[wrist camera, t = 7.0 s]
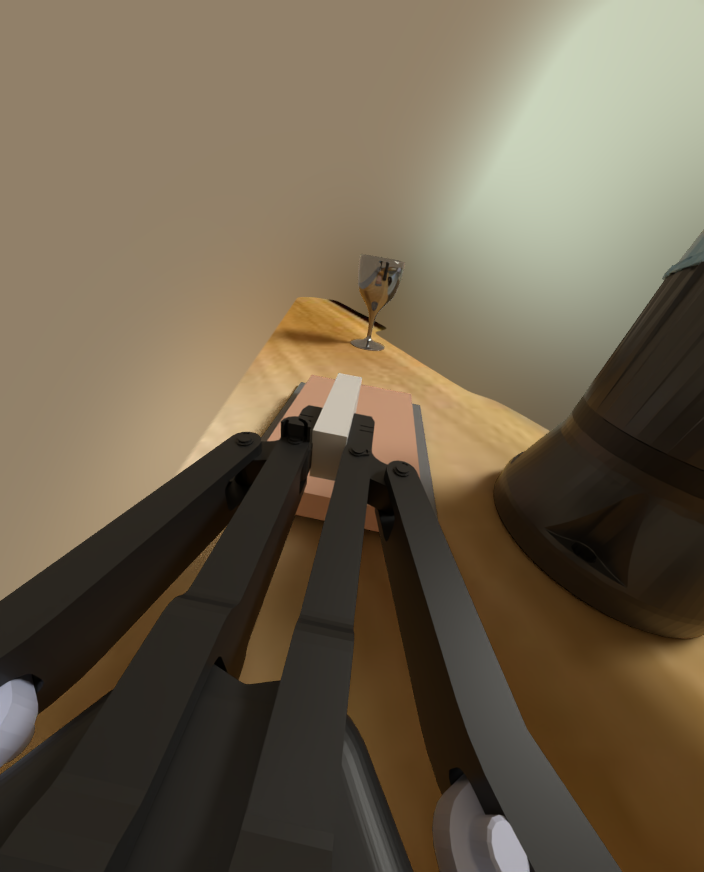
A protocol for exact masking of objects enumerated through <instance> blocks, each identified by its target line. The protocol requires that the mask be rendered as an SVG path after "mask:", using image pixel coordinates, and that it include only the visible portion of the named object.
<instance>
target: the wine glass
mask: <svg viewBox="0 0 704 872" xmlns="http://www.w3.org/2000/svg"><path fill="white" fill-rule="evenodd" d="M404 266H405V262H402V261H398V260H393V259H387V258H382V257H376V256H370V255H363V254H361V255H360V260H359V270H358V285H359V291H360V294H361V296H362V298H363V300H364V302H365V304H366V305H367V308H368V311H369V327H368V334H367V337H366V338H365V339H353V340H351V341H350V343H351V344H352V345H354V346H355V347H358V348H361V349H365V350H372V351H379V350H383V349H384V345H383V344H381V343H379V342H376V341H373V340H372V339H371V333H372V328H373V324H374V321H375V318H376V316H377V314H378V312H379V311H380V310H381V309H382V308H383V307H384V306H385V305H386V304H387V303H388V302H389V301H391V299H392V298H393V297H394V296H395V294H396V292H397V289H398V287H399V284H400V282H401V278H402V275H403V271H404Z"/></svg>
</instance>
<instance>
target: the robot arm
mask: <svg viewBox="0 0 704 872" xmlns="http://www.w3.org/2000/svg"><path fill="white" fill-rule="evenodd" d="M663 280H664V282H663V283H662V285H661V286H660V287H659V289H658V290H657V292H656V293H655V294H654V296H653V297H652V299H651V300H650V302H649V303H648V304H647V306H646V307H645V309H644V310H643V311H642V313H641V314H640V316H639V317H638V319H637V320H636V322H635V323H634V324H633V326H632V327H631V329H630V330H629V331H628V333H627V334H626V336H625V337H624V338H623V340H622V341H621V343H620V344H619V345H618V347H617V348H616V350H615V351H614V353H613V354H612V355H611V357H610V358H609V360H608V361H607V363H606V364H605V365H604V367H603V368H602V370H601V371H600V373H599V374H598V375H597V377H596V378H595V380H594V381H593V382H592V384H591V385H590V387H589V388H588V389H587V391H586V392H585V394H584V396H583V397H582V398H581V400H580V401H579V402H578V404H577V405H576V406H575V408H574V410H573V411H572V412H571V413H570V415H569V416H568V417H567V418H566V419H565V420H564V421H563V422H562V423H561V424H559V425H558V426H557V427H555V428H554V429H553V430H551V431H550V432H549V433H547V434H546V435H545V436H543V437H542V438H541V439H540V440H538V441H537V442H536V443H535V444H533V445H532V446H531V447H530V448H528V449H527V450H526V451H524V452H522V453H520V454H518V455H517V456H515V457H514V458H512V459H511V460H510V461H509V463H508V464H507V465H506V467H505V468H504V470H503V471H502V473H501V474H500V476H499V478H498V479H497V481H496V483H495V486H494V500H495V504H496V508H497V510H498V513H499V515H500V517H501V519H502V521H503V523H504V525H505V526H506V528H507V530H508V531H509V532H510V534H511V535H512V537H513V538H514V539H515V541H516V542H517V543H518V544H519V546H520V547H521V548H522V549H523V550H524V551H525V553H526V554H527V555H528V556H529V557H530V558H531V559H532V560H533V561H534V562H535V563H536V564H537V565H538V566H539V567H540V568H541V569H542V570H544V571H545V572H546V573H547V574H548V575H549V576H550V577H552V578H553V579H554V580H555V581H557V582H558V583H559V584H560V585H562V586H563V587H564V588H566V589H567V590H568V591H570V592H571V593H572V594H574V595H575V596H577V597H578V598H580V599H581V600H583V601H584V602H586V603H587V604H589V605H591V606H592V607H594V608H596V609H597V610H599V611H601V612H603V613H605V614H606V615H608V616H610V617H612V618H614V619H616V620H618V621H620V622H623V623H625V624H627V625H630V626H632V627H635V628H637V629H640V630H643V631H646V632H649V633H652V634H656V635H660V636H665V637H671V638H695V637H699V636H702V635H704V230H703V231H702V232H701V234H700V235H699V236H698V238H697V239H696V240H695V241H694V243H693V244H692V246H691V247H690V248H689V249H688V250H687V252H686V253H685V254H684V256H683V257H682V258H681V259H680V261H679V262H678V263H677V264H676V265H674V266H672V267H671V268H670V269H669V270H668V271H667V272H666V273H665V275H664V276H663ZM361 381H362V377H357V376H351V375H346V374H341V373H338V376H337V378H336V380H335V382H334V384H333V387H332V389H331V391H330V393H329V396H328V398H327V400H326V402H325V404H324V407H323V408H322V407H316V406H311V405H308V406H307V407H305V408H303V409H302V411H301V413H300V415H299V416H291V417H287V418H284V419H283V420H282V421H281V437H280V439H279V440H276V441H261V437H260V436H259V435H258V434H256V433H252V432H241V433H237V434H235V435H233V436H231V437H230V438H229V439H227V440H226V441H224V442H223V443H222V444H220V445H219V446H217V447H216V448H215V449H213V450H212V451H210V452H209V453H208V454H206V455H205V456H203V457H202V458H201V459H199V460H198V461H196V462H195V463H194V464H192V465H191V466H189V467H188V468H186V469H185V470H184V471H182V472H181V473H179V474H178V475H177V476H175V477H174V478H172V479H171V480H170V481H168V482H167V483H165V484H164V485H163V486H161V487H160V488H158V489H157V490H156V491H154V492H153V493H152V494H150V495H149V496H147V497H146V498H145V499H143V500H142V501H140V502H139V503H137V504H136V505H134V506H133V507H132V508H130V509H129V510H127V511H126V512H125V513H123V514H122V515H120V516H119V517H118V518H116V519H115V520H113V521H112V522H111V523H109V524H108V525H106V526H105V527H104V528H102V529H101V530H100V531H98V532H97V533H95V534H94V535H92V536H91V537H90V538H88V539H87V540H85V541H84V542H82V543H81V544H80V545H78V546H77V547H75V548H74V549H73V550H71V551H70V552H69V553H67V554H66V555H65V556H63V557H62V558H60V559H59V560H58V561H56V562H54V563H53V564H52V565H50V566H49V567H47V568H46V569H45V570H43V571H42V572H40V573H39V574H38V575H36V576H35V577H33V578H32V579H31V580H29V581H28V582H26V583H25V584H23V585H22V586H21V587H19V588H18V589H16V590H15V591H14V592H12V593H11V594H10V595H8V596H7V597H5V598H4V599H3V600H1V601H0V767H1V766H2V765H3V764H5V763H7V762H10V761H12V760H13V759H14V758H16V757H17V756H18V755H19V754H21V753H22V752H23V750H24V749H25V748H26V747H27V746H28V744H29V743H30V741H31V739H32V737H33V735H34V732H35V725H34V724H35V721H36V717H37V715H38V714H39V713H40V712H42V711H43V710H44V709H46V708H47V707H48V706H49V705H51V704H52V703H53V702H55V701H56V700H57V699H58V698H59V697H60V696H62V695H63V694H64V693H65V692H66V691H67V690H68V689H69V688H71V687H72V686H73V685H74V684H75V683H76V682H77V681H79V680H80V679H81V678H82V677H83V676H84V675H85V674H86V673H87V672H88V671H89V670H90V669H91V668H92V667H93V666H94V665H95V664H96V663H97V662H98V661H99V660H100V659H101V658H102V657H103V656H104V655H105V654H106V653H107V652H108V651H109V650H110V649H111V648H112V647H113V646H114V644H115V643H116V642H117V641H118V640H119V639H120V638H121V637H122V636H123V635H124V634H125V633H126V632H127V631H128V630H129V629H130V628H131V626H132V625H133V624H134V623H135V622H136V621H137V620H138V619H139V618H140V617H141V616H142V615H143V614H144V613H145V612H146V611H147V610H148V608H149V607H150V606H151V605H152V604H153V603H154V602H155V601H156V600H157V599H158V598H159V597H160V596H161V595H162V594H163V593H164V592H165V590H166V589H167V588H168V587H169V586H170V585H171V584H172V583H173V582H174V581H175V580H176V579H177V578H178V577H179V576H180V575H181V574H182V572H183V571H184V570H185V569H186V568H187V567H188V566H189V565H190V564H191V563H192V562H193V561H194V560H195V559H196V558H197V557H198V556H199V554H200V553H201V552H202V551H203V550H204V549H205V548H206V547H207V546H208V545H209V544H210V543H211V542H212V541H213V540H214V539H215V538H216V536H217V535H218V534H219V533H220V532H221V531H222V530H223V529H224V528H225V527H226V526H227V527H226V529H225V530H224V532H223V534H222V535H221V537H220V539H219V540H218V542H217V544H216V545H215V547H214V549H213V550H212V552H211V554H210V555H209V557H208V559H207V560H206V562H205V564H204V565H203V567H202V569H201V570H200V572H199V574H198V575H197V577H196V579H195V580H194V582H193V584H192V585H191V587H190V588H189V590H188V591H187V592H186V593H185V594H183V595H180V596H177V597H175V598H174V599H173V600H172V601H171V602H170V603H169V604H168V606H167V607H166V608H165V610H164V611H163V612H162V614H161V616H160V617H159V619H158V620H157V622H156V623H155V625H154V627H153V628H152V630H151V631H150V633H149V634H148V636H147V638H146V639H145V641H144V642H143V644H142V645H141V647H140V649H139V650H138V652H137V653H136V655H135V656H134V658H133V659H132V661H131V663H130V664H129V666H128V667H127V669H126V670H125V672H124V674H123V675H122V677H121V678H120V680H119V681H118V683H117V685H116V686H115V688H114V689H113V690H111V691H110V692H108V693H107V694H106V695H104V696H103V697H102V698H100V699H99V700H98V701H97V702H95V703H94V704H93V705H91V706H90V707H89V708H87V709H86V710H85V711H83V712H82V713H81V714H79V715H78V716H77V717H75V718H74V719H73V720H72V721H70V722H69V723H68V724H66V725H65V726H64V727H62V728H61V729H60V730H58V731H57V732H56V733H54V734H53V735H52V736H50V737H49V738H48V739H46V740H45V741H44V742H43V743H41V744H40V745H39V746H37V747H36V748H35V749H33V750H32V751H31V752H29V753H28V754H27V755H25V756H24V757H23V758H21V759H20V760H19V761H17V762H16V763H15V764H14V765H12V766H11V767H10V768H8V769H7V770H6V771H4V772H3V773H2V774H0V872H413V869H412V867H411V864H410V861H409V859H408V856H407V854H406V851H405V848H404V846H403V843H402V840H401V838H400V835H399V832H398V830H397V827H396V825H395V822H394V819H393V817H392V814H391V811H390V809H389V806H388V803H387V801H386V798H385V795H384V793H383V790H382V788H381V785H380V782H379V780H378V777H377V774H376V772H375V769H374V766H373V764H372V761H371V758H370V756H369V753H368V750H367V748H366V745H365V743H364V741H363V739H362V737H361V735H360V733H359V731H358V729H357V727H356V726H355V724H354V723H353V721H352V720H351V718H350V717H349V716H348V715H347V706H348V697H349V687H350V678H351V668H352V658H353V648H354V630H353V627H354V616H355V607H356V598H357V589H358V580H359V571H360V562H361V553H362V544H363V535H364V526H365V517H366V508H367V504H368V505H370V506H372V507H374V508H375V515H376V520H377V524H378V529H379V534H380V538H381V543H382V548H383V552H384V557H385V562H386V566H387V571H388V576H389V581H390V585H391V590H392V595H393V599H394V604H395V609H396V613H397V618H398V623H399V627H400V632H401V637H402V641H403V646H404V651H405V655H406V660H407V665H408V670H409V674H410V679H411V684H412V688H413V693H414V698H415V702H416V707H417V712H418V716H419V721H420V725H421V729H422V733H423V737H424V741H425V745H426V749H427V753H428V756H429V759H430V762H431V765H432V768H433V771H434V774H435V777H436V780H437V784H438V786H439V789H440V791H441V794H442V796H441V798H440V799H439V801H438V802H437V805H436V808H435V811H434V816H433V827H432V831H433V844H434V850H435V854H436V858H437V862H438V867H439V871H440V872H622V871H621V869H620V868H619V866H618V865H617V863H616V862H615V860H614V859H613V857H612V856H611V854H610V853H609V851H608V850H607V848H606V847H605V845H604V844H603V842H602V841H601V839H600V838H599V836H598V835H597V833H596V832H595V830H594V829H593V827H592V826H591V824H590V823H589V821H588V820H587V818H586V817H585V815H584V814H583V812H582V811H581V809H580V808H579V806H578V805H577V803H576V802H575V800H574V799H573V797H572V796H571V794H570V793H569V791H568V790H567V788H566V787H565V785H564V784H563V782H562V781H561V779H560V778H559V776H558V775H557V773H556V772H555V770H554V769H553V767H552V766H551V764H550V763H549V761H548V760H547V758H546V757H545V755H544V754H543V752H542V751H541V749H540V748H539V746H538V745H537V743H536V742H535V740H534V739H533V737H532V736H531V734H530V733H529V731H528V730H527V728H526V726H525V723H524V721H523V719H522V716H521V714H520V712H519V709H518V707H517V705H516V702H515V700H514V697H513V695H512V693H511V690H510V688H509V686H508V683H507V681H506V679H505V676H504V674H503V672H502V669H501V667H500V665H499V662H498V660H497V658H496V655H495V653H494V651H493V648H492V646H491V644H490V641H489V639H488V637H487V634H486V632H485V630H484V627H483V625H482V623H481V620H480V618H479V616H478V613H477V611H476V609H475V606H474V604H473V602H472V599H471V597H470V595H469V592H468V590H467V588H466V585H465V583H464V581H463V578H462V576H461V574H460V571H459V569H458V567H457V564H456V562H455V560H454V557H453V555H452V553H451V550H450V548H449V546H448V543H447V541H446V539H445V536H444V534H443V532H442V529H441V527H440V525H439V522H438V520H437V518H436V515H435V513H434V511H433V508H432V506H431V504H430V501H429V499H428V497H427V494H426V492H425V490H424V487H423V485H422V483H421V480H420V478H419V476H418V473H417V471H416V470H415V468H414V467H413V466H412V465H410V464H409V463H406V462H404V461H399V460H397V461H392V462H390V463H389V464H385V463H383V462H381V461H379V460H378V459H377V458H375V456H374V455H373V453H372V443H373V435H374V426H375V421H374V420H373V418H372V416H366V415H361V414H356V409H357V404H358V398H359V392H360V387H361ZM309 471H310V475H309V476H312V477H317V478H322V479H327V480H332V481H335V483H334V487H333V490H332V494H331V498H330V502H329V506H328V510H327V513H326V517H325V521H324V525H323V529H322V533H321V536H320V540H319V544H318V548H317V552H316V556H315V559H314V563H313V567H312V571H311V575H310V579H309V582H308V586H307V590H306V594H305V598H304V602H303V605H302V609H301V613H300V616H299V619H298V621H297V623H296V626H295V629H294V633H293V636H292V640H291V644H290V647H289V651H288V655H287V659H286V662H285V666H284V670H283V674H282V677H281V680H280V681H272V682H264V683H257V684H244V683H242V682H240V681H239V680H238V679H239V677H240V674H241V671H242V668H243V664H244V660H245V656H246V650H247V646H248V642H249V639H250V636H251V633H252V631H253V628H254V625H255V623H256V620H257V617H258V615H259V612H260V609H261V606H262V604H263V601H264V598H265V596H266V593H267V590H268V587H269V585H270V582H271V579H272V577H273V574H274V571H275V569H276V566H277V563H278V560H279V558H280V555H281V552H282V550H283V547H284V544H285V541H286V539H287V536H288V533H289V531H290V528H291V525H292V523H293V520H294V517H295V514H296V512H297V509H298V506H299V504H300V501H301V498H302V496H303V493H304V490H305V487H306V485H307V476H308V473H309Z"/></svg>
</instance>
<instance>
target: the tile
mask: <svg viewBox="0 0 704 872" xmlns="http://www.w3.org/2000/svg"><path fill="white" fill-rule="evenodd" d="M335 380H336V379H331V378H326V377H320V376H315V375H311V377H310V378H309V379H308V381H307V382H306V384H305V385H304V387H303V388H302V390H301V391H300V393H299V394H298V396H297V397H296V399H295V400H294V402H293V403H292V405H291V406H290V408H289V409H288V411H287V412H286V414H285V415H284V417H283V418H282V419H281V421H282V420H283V419H284V418H287V417H291V416H299V415H300V413H301V411H302V409H303V408H305V407H307V406H308V405H311V406H316V407H322V408H323V407H324V404H325V402H326V400H327V398H328V396H329V393H330V391H331V389H332V387H333V384H334V382H335ZM356 414H361V415H366V416H372V418H373V420H374V421H375V426H374V435H373V443H372V453H373V455H374V456H375V458H377V459H378V460H379V461H381V462H383V463H385V464H389V463H390V462H392V461H397V460H399V461H404V462H406V463H409V464H410V465H412V466H413V467H414V468H415V470H416V471H417V473H418V476H419V478H420V472H419V462H418V453H417V444H416V434H415V425H414V416H413V407H412V397H411V394H408V393H403V392H398V391H393V390H388V389H383V388H377V387H372V386H367V385H362V384H361V387H360V392H359V398H358V404H357V409H356ZM281 421H280V422H279V424H278V425H277V427H276V428H275V430H274V431H273V433H272V434H271V436H270V437H269V439H268V440H267V441H276V440H279V439H280V437H281ZM309 475H310V471H309V473H308V476H307V485H306V487H305V490H304V493H303V496H302V498H301V501H300V504H299V506H298V509H297V512H296V514H295V515H300V516H304V517H309V518H314V519H319V520H324V521H325V517H326V513H327V510H328V506H329V502H330V498H331V494H332V490H333V487H334V483H335V481H332V480H327V479H322V478H317V477H312V476H309ZM364 529H367V530H372V531H377V532H379V529H378V524H377V520H376V515H375V508H374V507H372V506H370V505H368V504H367V508H366V517H365V526H364Z"/></svg>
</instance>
